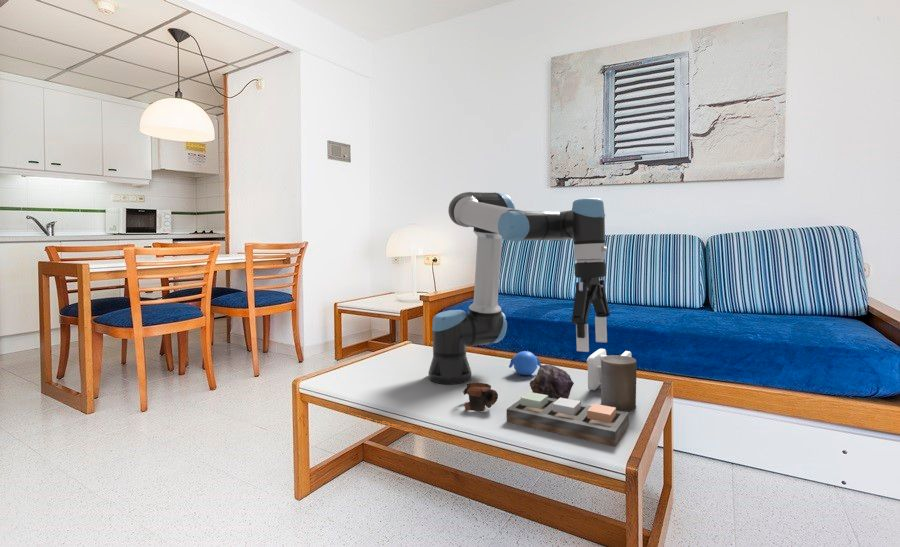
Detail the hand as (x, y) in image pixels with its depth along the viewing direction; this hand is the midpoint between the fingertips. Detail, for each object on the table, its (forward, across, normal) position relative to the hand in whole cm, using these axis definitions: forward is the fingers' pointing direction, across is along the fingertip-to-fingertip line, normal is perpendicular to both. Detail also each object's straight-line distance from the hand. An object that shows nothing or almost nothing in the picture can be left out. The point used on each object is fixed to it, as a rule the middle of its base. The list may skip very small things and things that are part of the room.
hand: (592, 346), depth 116 cm
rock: (+20, +19, +19) cm, 34 cm away
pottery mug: (+20, -1, +33) cm, 39 cm away
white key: (+17, +1, +8) cm, 19 cm away
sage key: (+17, 0, +17) cm, 24 cm away
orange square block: (+18, +1, -1) cm, 18 cm away
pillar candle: (+21, +22, +1) cm, 30 cm away
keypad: (+21, +1, +8) cm, 23 cm away
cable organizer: (+20, +36, +7) cm, 42 cm away
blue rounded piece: (+19, +36, +38) cm, 55 cm away
